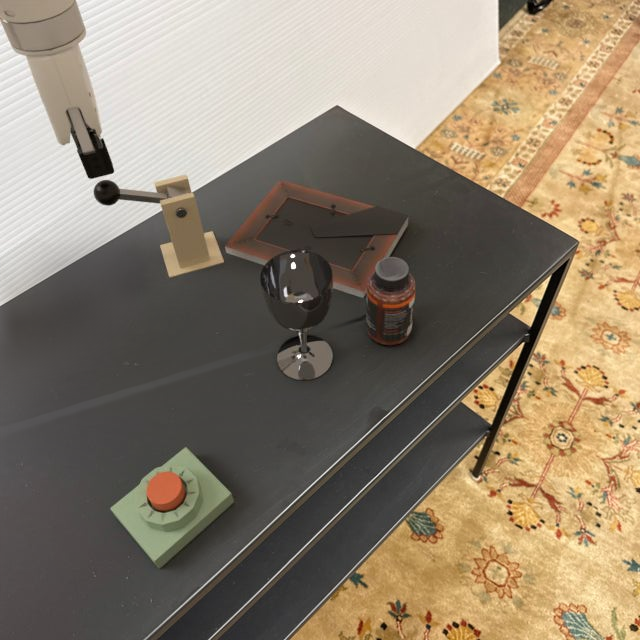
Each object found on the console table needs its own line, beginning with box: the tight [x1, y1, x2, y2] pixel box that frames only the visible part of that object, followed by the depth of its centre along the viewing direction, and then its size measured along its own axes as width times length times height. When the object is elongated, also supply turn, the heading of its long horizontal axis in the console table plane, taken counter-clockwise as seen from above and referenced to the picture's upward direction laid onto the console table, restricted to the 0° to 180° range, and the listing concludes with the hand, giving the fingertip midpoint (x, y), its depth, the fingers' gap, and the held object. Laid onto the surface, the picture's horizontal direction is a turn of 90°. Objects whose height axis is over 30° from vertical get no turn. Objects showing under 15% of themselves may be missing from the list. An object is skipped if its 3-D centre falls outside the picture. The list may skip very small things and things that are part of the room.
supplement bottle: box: [365, 256, 417, 346], centre depth 80 cm, size 6×6×11 cm
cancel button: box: [146, 472, 185, 511], centre depth 66 cm, size 4×4×2 cm
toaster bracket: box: [153, 174, 225, 279], centre depth 89 cm, size 8×7×13 cm
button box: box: [110, 446, 235, 570], centre depth 68 cm, size 10×8×4 cm
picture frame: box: [224, 179, 409, 299], centre depth 94 cm, size 16×2×22 cm
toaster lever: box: [93, 179, 189, 207], centre depth 83 cm, size 12×3×3 cm, turn 110°
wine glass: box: [259, 250, 334, 381], centre depth 76 cm, size 8×8×15 cm
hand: (101, 172), depth 79 cm, fingers closed
